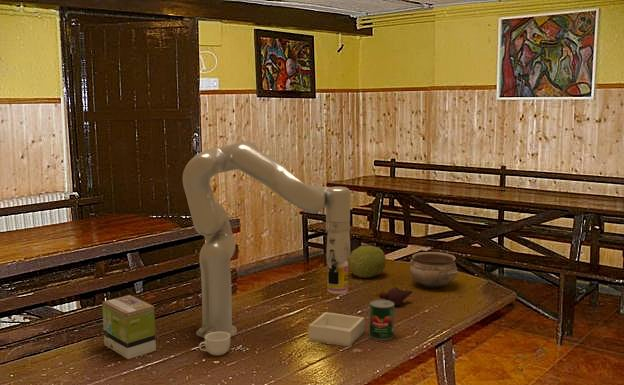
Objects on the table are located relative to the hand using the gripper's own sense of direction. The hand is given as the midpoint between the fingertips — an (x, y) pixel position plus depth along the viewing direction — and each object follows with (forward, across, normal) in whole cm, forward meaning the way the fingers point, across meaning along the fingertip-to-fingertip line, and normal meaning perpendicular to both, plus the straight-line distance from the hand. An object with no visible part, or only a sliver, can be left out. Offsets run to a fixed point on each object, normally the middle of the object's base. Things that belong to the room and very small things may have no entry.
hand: (337, 280), depth 213 cm
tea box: (+19, -35, +55) cm, 68 cm away
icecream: (+19, +39, -9) cm, 44 cm away
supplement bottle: (+4, 0, 0) cm, 4 cm away
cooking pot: (+19, +68, -16) cm, 72 cm away
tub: (+19, 0, 0) cm, 19 cm away
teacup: (+19, -28, +29) cm, 45 cm away
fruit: (+19, +71, +13) cm, 75 cm away
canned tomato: (+19, +6, -13) cm, 24 cm away
